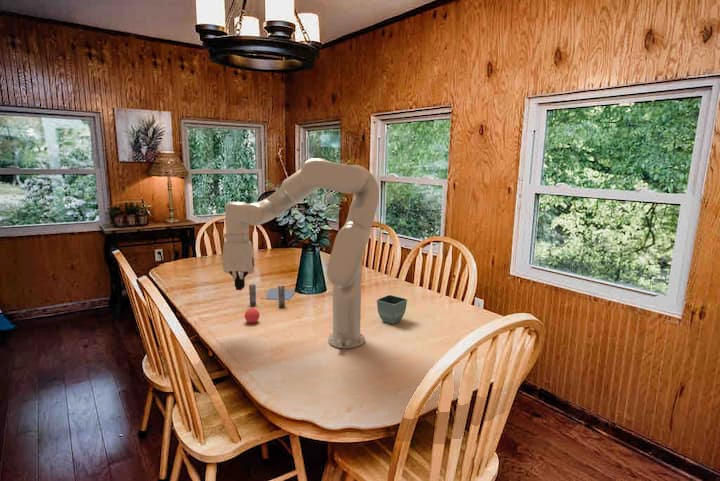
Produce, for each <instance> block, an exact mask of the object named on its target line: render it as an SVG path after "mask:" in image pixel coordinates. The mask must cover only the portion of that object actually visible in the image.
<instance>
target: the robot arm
mask: <svg viewBox="0 0 720 481" xmlns="http://www.w3.org/2000/svg"><path fill="white" fill-rule="evenodd" d="M319 189H321V190H328V191H332V192H337V193H343V194H353V196H352V201H351V204H350V206H349V210H348V214H347V218H346V221H345V223H344V225H343V226H342V227H340V229H339V230H338V232H337V234H336V235H335V239H334V243H333V245H332V249H331V252H330V257H329V260H328V264H327V267H326V276H327V279H328V281H329V282H330V284H331V285H332V333H331V334H330V335H329V336H328V339H327V340H328V341H327V342H328V343H329V345H331V346H332V347H335V348H339V349H347V350H348V349H355V348H358V347H360V346H362V345H363V344H364V343H365V338H366V337H365V336H364V334H362V333H361V308H362V307H361V305H362V304H361V303H362V302H361V300H362V299H361V298H362V275H363V263H362V262H363V261H362V258H363V255H364V252H365V248H366V247H367V245H368V244H369V241H370V236H371V232H372V227H373V224H374V220H375V216H376V213H377V209H378V205H379V200H380V189H379V186H378V182H377V180H376V178H375V176H374V175H373V174H372V172H370V171H369V170H368V169H367V168H365V167H364V166H362V165H358V164H346V163H340V162H334V161H333V162H332V161H329V160H328V159H326V158H322V157H321V158H320V157H317V158H316V157H314V158H313V157H312V158H309V159H308V160H306V161H305V162H304V163H302V166H301V168H300V169H298V170H297V171H296V172H295V173H293V174H291V175H290V176H288V177H286V178H285V179H284V180H283V181H282V183H281V185H280V187H279V188H278V189H277V190H275V192H273V193H272V194H270V195H269V196H267V197H265V198H264V199H262V200H259V201H256V202H250V203H247V202H245V201H229V202H227V203H226V204H225V205H224V212H225V231H226V232H225V233H223V234H222V238H223V239H225V241H224V242H223V245H222V246H223V248H222V256H221V257H222V263H221V265H222V269H223V272H224V273H227V274H229V275H230V276H231V277H232V278H233V280H234V287H235V290H236V291H241V290H243V289H244V287H246V286H245V285H246V284H245V278H246V276H248V275H251V274H254V273H255V254H254V248H253V247H254V246H253V243H252V241H251V240H250V226H254V227H255V226H261V225H262V224H265V223H268V222H270V221H272V220H273V219H275V218H277V217H278V216H280V215H282V214H283V213H284V212H286V211H287V210H289V209H291V208H292V207H294V206H295V205H297V204H299V202H302V201H303V200H304V199H305V198H307V197H308V196H310V195H312V194H314V192H316V191H318V190H319Z"/></svg>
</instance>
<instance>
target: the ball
mask: <svg viewBox="0 0 720 481" xmlns="http://www.w3.org/2000/svg"><path fill="white" fill-rule="evenodd" d="M244 319H245V321H246V322H247V323H249V324H254V323H256V322H258V321H259V319H260V312H259V311H258V309H257V308H253V307H251V308H248V309H247V310H245V313H244Z"/></svg>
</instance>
